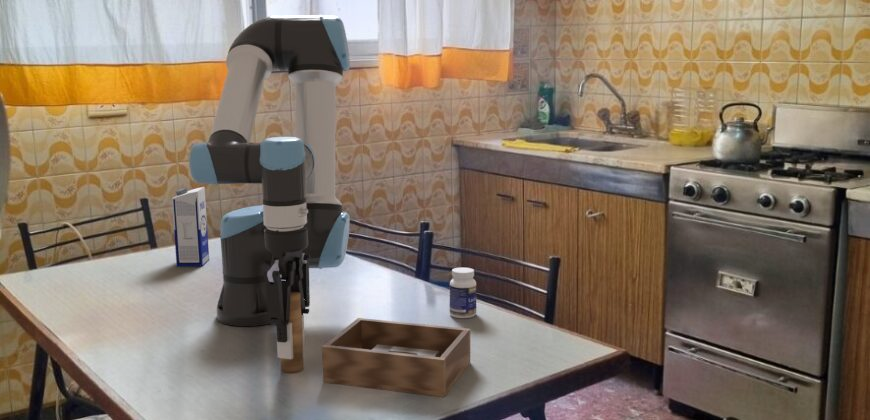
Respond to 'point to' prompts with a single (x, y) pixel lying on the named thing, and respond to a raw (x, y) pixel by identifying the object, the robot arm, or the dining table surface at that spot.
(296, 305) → the dowel
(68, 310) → the dining table surface
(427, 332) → the box
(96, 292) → the dining table surface
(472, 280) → the pill bottle
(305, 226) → the robot arm
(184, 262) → the milk carton
